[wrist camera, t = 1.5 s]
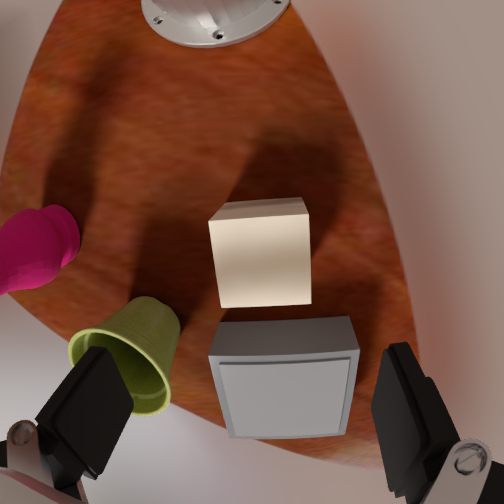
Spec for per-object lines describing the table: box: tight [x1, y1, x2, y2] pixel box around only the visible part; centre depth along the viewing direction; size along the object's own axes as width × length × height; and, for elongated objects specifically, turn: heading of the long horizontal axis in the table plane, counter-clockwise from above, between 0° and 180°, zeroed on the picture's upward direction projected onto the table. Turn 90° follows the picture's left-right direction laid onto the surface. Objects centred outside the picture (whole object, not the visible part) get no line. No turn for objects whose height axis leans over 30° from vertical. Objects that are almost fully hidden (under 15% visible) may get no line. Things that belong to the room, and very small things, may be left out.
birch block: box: [208, 197, 311, 308], centre depth 21 cm, size 6×6×6 cm
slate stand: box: [208, 316, 360, 439], centre depth 26 cm, size 12×12×5 cm
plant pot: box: [68, 296, 180, 416], centre depth 24 cm, size 9×9×9 cm
